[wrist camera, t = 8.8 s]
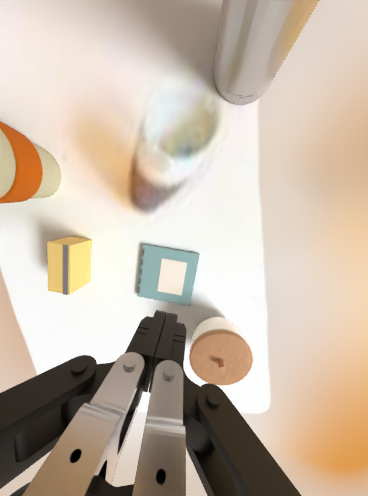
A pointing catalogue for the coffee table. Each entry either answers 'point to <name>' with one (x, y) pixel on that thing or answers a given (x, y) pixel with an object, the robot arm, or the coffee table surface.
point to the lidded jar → (220, 352)
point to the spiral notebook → (167, 274)
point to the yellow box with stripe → (68, 264)
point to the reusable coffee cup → (25, 168)
